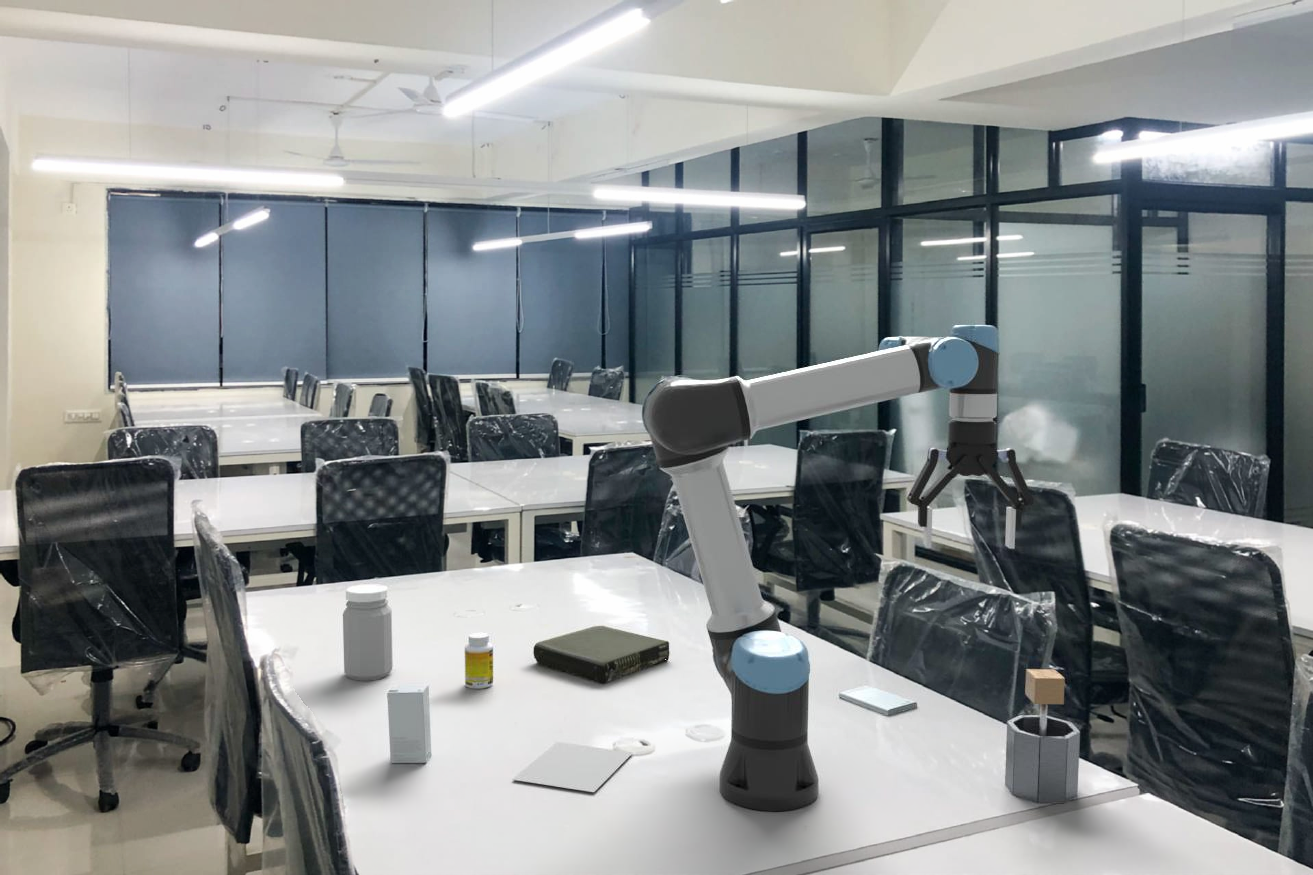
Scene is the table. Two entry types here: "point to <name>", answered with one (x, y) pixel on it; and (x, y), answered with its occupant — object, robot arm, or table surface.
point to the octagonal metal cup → (1042, 759)
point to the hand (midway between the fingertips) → (968, 546)
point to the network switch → (600, 653)
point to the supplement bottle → (478, 661)
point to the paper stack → (573, 766)
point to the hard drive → (877, 700)
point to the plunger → (1044, 691)
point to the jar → (367, 632)
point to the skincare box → (409, 723)
